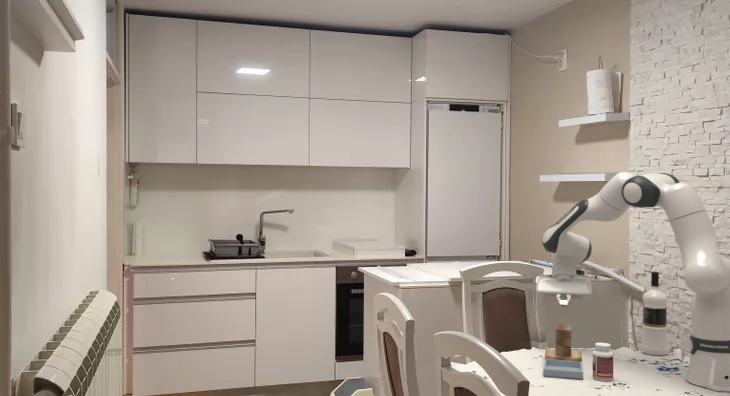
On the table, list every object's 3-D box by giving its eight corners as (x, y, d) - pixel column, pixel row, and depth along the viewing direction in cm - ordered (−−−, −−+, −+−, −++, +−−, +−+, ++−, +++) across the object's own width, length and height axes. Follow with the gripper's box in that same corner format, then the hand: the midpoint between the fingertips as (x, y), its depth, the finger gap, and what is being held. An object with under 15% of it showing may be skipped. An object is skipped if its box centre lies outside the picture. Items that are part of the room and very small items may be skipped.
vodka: (666, 357, 226) (666, 274, 225) (638, 354, 231) (638, 272, 231) (670, 352, 233) (670, 271, 233) (643, 348, 239) (643, 269, 238)
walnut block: (570, 350, 221) (570, 325, 221) (571, 357, 213) (571, 330, 213) (556, 349, 223) (556, 324, 223) (555, 356, 214) (555, 329, 214)
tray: (582, 369, 211) (582, 361, 211) (583, 380, 198) (583, 372, 198) (544, 366, 214) (544, 358, 214) (543, 376, 202) (543, 369, 202)
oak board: (581, 361, 221) (581, 351, 221) (582, 368, 211) (582, 358, 211) (545, 358, 225) (545, 348, 225) (544, 365, 215) (544, 355, 215)
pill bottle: (617, 379, 199) (617, 344, 199) (605, 383, 196) (605, 347, 196) (600, 374, 204) (600, 341, 204) (588, 378, 201) (588, 343, 201)
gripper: (535, 270, 242) (534, 299, 232) (592, 272, 236) (593, 302, 226) (535, 280, 246) (534, 309, 237) (591, 282, 240) (592, 312, 231)
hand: (563, 306), depth 231 cm, fingers closed
